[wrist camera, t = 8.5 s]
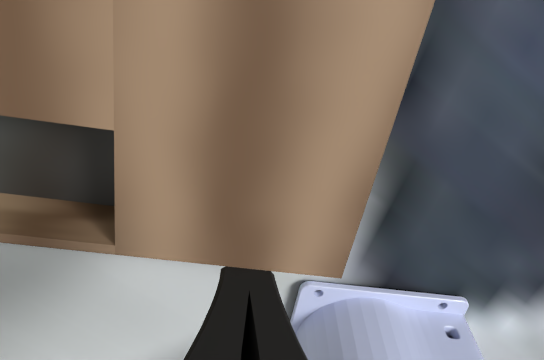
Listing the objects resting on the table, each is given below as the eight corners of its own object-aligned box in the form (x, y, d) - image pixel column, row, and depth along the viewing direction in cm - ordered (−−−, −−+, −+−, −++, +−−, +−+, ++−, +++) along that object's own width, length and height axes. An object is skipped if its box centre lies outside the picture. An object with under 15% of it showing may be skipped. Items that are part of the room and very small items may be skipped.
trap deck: (497, -307, 14) (552, -347, 11) (332, 235, 24) (341, 278, 22) (-390, -536, 11) (-578, -654, 9) (-140, 181, 22) (-192, 222, 19)
